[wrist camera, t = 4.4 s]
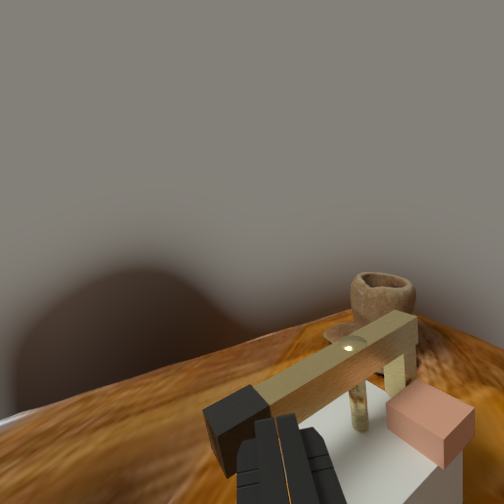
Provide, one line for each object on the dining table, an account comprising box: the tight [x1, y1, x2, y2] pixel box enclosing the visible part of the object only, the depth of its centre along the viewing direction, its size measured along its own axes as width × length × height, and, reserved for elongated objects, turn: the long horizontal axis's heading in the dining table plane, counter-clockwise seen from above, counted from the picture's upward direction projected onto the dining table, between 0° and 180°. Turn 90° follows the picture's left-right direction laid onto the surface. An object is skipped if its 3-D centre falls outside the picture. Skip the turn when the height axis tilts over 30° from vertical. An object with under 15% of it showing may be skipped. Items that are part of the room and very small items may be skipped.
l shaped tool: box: [203, 310, 418, 479], centre depth 24 cm, size 22×3×9 cm, turn 120°
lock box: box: [279, 380, 463, 504], centre depth 28 cm, size 12×12×8 cm
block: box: [386, 379, 475, 470], centre depth 25 cm, size 5×5×3 cm
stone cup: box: [324, 272, 417, 374], centre depth 49 cm, size 15×12×15 cm
